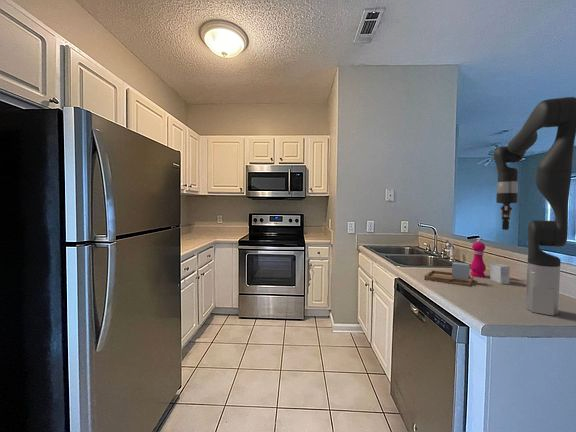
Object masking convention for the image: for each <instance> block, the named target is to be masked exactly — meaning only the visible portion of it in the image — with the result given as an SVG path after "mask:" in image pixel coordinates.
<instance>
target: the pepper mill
mask: <svg viewBox="0 0 576 432" xmlns="http://www.w3.org/2000/svg"><path fill="white" fill-rule="evenodd" d="M471 248H472V250H473V251H472V253H473V260H472V261H471V263H470V265H469V270H471V271H470V276H473V278H474V277H475V278H476V277H477V278H484V277H485V276H486V275H485V273H484V272H486V271H487V270H486V269H487V268H486V263H485V262H484V260H483V256H484V255H485V249H486V246H485V244H484V243H483V242H482V241H481V239H479V238H478V239H476V241H475V242H474V243H472V246H471Z"/></svg>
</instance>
